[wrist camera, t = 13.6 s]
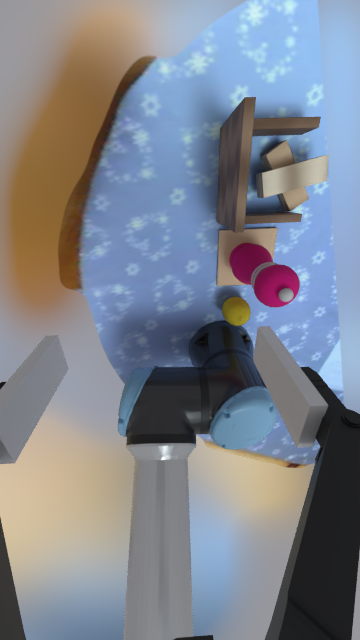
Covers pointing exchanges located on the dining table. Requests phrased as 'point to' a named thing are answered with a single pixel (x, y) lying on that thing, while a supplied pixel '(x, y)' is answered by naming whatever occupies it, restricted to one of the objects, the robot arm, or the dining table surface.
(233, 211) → the rack
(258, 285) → the pepper mill
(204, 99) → the dining table surface
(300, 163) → the offcut top
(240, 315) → the lemon
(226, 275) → the cork mat
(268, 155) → the offcut bottom
